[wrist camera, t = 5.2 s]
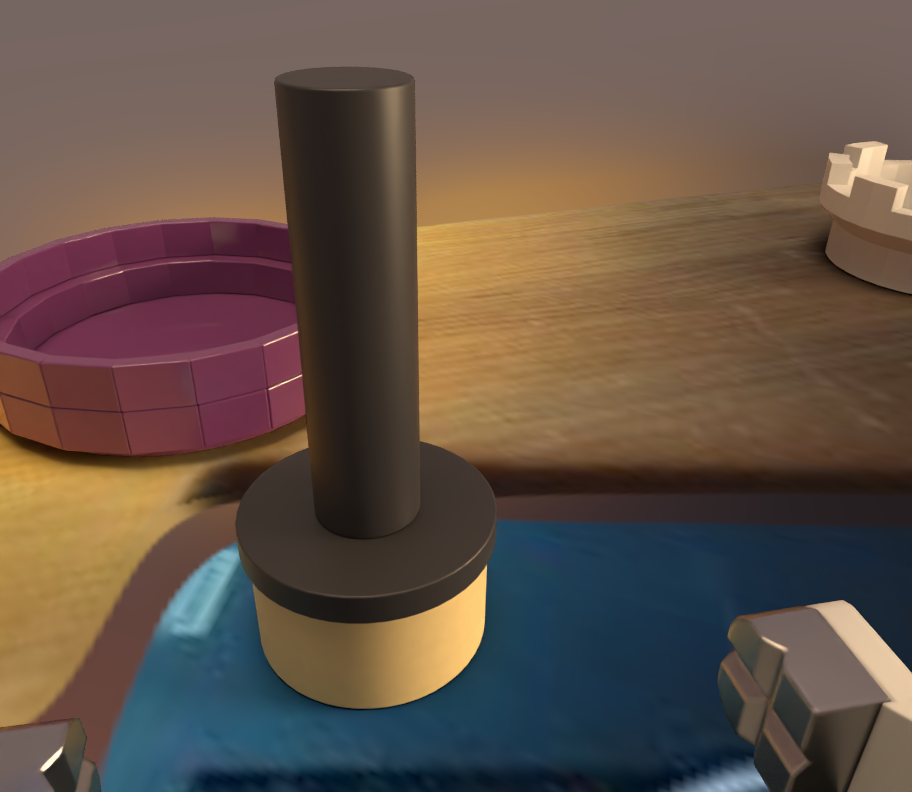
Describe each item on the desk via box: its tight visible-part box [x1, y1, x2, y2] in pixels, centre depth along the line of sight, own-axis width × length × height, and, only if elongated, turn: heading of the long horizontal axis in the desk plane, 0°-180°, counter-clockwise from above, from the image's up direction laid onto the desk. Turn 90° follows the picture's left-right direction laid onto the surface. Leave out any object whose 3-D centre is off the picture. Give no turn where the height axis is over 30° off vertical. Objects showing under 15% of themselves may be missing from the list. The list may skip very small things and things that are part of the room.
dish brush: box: [235, 67, 497, 709], centre depth 19 cm, size 6×6×14 cm
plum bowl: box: [0, 217, 306, 457], centre depth 34 cm, size 15×15×4 cm
